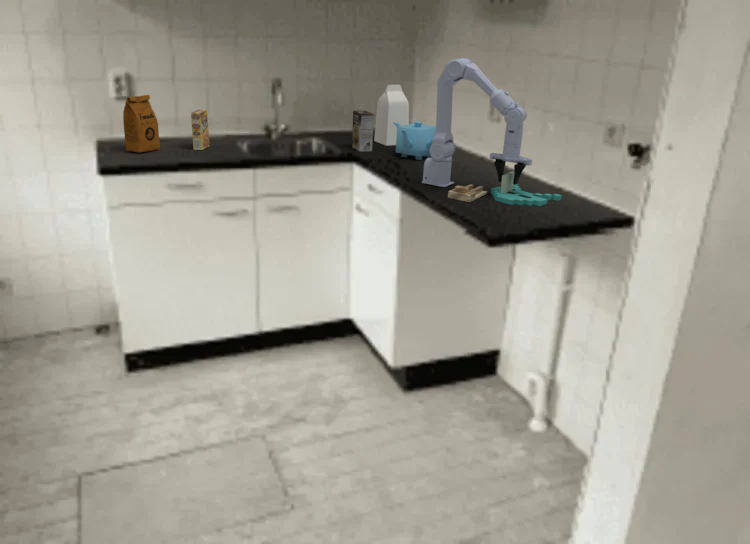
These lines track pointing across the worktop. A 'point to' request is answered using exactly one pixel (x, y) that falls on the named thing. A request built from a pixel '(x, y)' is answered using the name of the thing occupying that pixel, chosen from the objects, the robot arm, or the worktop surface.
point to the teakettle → (414, 139)
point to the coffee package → (140, 125)
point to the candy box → (200, 129)
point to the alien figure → (522, 197)
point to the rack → (465, 197)
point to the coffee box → (362, 130)
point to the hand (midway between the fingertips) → (507, 182)
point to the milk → (391, 114)
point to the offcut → (461, 189)
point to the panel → (507, 182)
